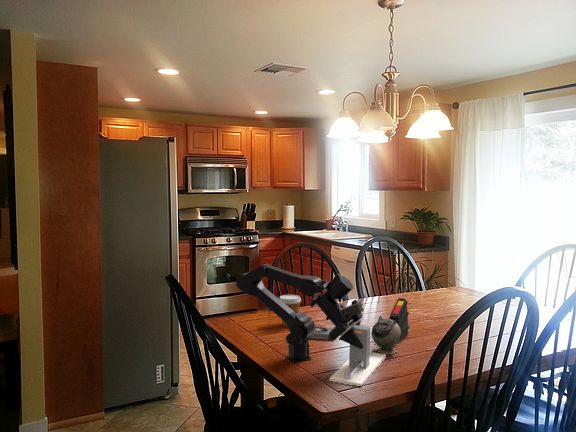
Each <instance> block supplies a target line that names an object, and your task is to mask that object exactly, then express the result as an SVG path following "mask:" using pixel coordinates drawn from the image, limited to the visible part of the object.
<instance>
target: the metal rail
mask: <svg viewBox="0 0 576 432" xmlns="http://www.w3.org/2000/svg"><path fill="white" fill-rule="evenodd" d="M373 353H374V349H373V348H370V357H371V356H372V355H373ZM370 357H369V358H370ZM362 366H363V361H358V360H356V361H355V362H354V363H353V364H352V365H351V366H350V367H349V368H348V369H347V370H346V371H345V372H344V378H347V379H351V378H352V377H353V376H354V375H355V374H356V373H357V372H358V371H359V370H360V368H361V367H362Z"/></svg>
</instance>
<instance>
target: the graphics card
mask: <svg viewBox="0 0 576 432" xmlns="http://www.w3.org/2000/svg"><path fill="white" fill-rule="evenodd" d="M333 329H334V327H325V326H315V330H314V332H313V333H312V334H311V335H310V338H309V339H317V340H328V339H330V338H329V333H330V332H331V331H332V330H333Z"/></svg>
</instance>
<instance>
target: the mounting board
mask: <svg viewBox="0 0 576 432" xmlns="http://www.w3.org/2000/svg"><path fill="white" fill-rule="evenodd" d="M386 358H387V354H382V353H379V352H377V353H376V352H373V355H372V356H371V357H370V358H369V366H368V367H367V368H366V369H365V368H363V366H362V367H361V368H360V370H359V371H358V372H357V373H356V374H355V375H354V376H353V377H352V378H351V379H347V378H344V372H345V371H346V370H347V369H348V368H349V367H350V366H349V359H347V360H346V361H345V363H343V365H341V367H339V368H338V370H336V371H335V372H334V373H333V374H332V375H331V376H330V377H329V382H330V381H333V382H332V383H335V382H338V383H337V384H341V383H344V384H343V385H347V384H349V385H348V386H352V385H356V386H355V387H358V386H362V385H363V384H364V383H365V384H366V382H367V381H368V380H369V379H370V378H371V376H372V375H373V374H374V373H375V372H376V370H377V369H378V368H379V367H380V365H381V364H382V361H383V362H384V361H385V359H386ZM377 367H378V368H377ZM376 368H377V369H376ZM373 372H374V373H373ZM372 373H373V374H372ZM369 377H370V378H369ZM368 378H369V379H368ZM367 379H368V380H367ZM365 384H364V385H365ZM364 385H363V386H364ZM363 386H362V387H363Z"/></svg>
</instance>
